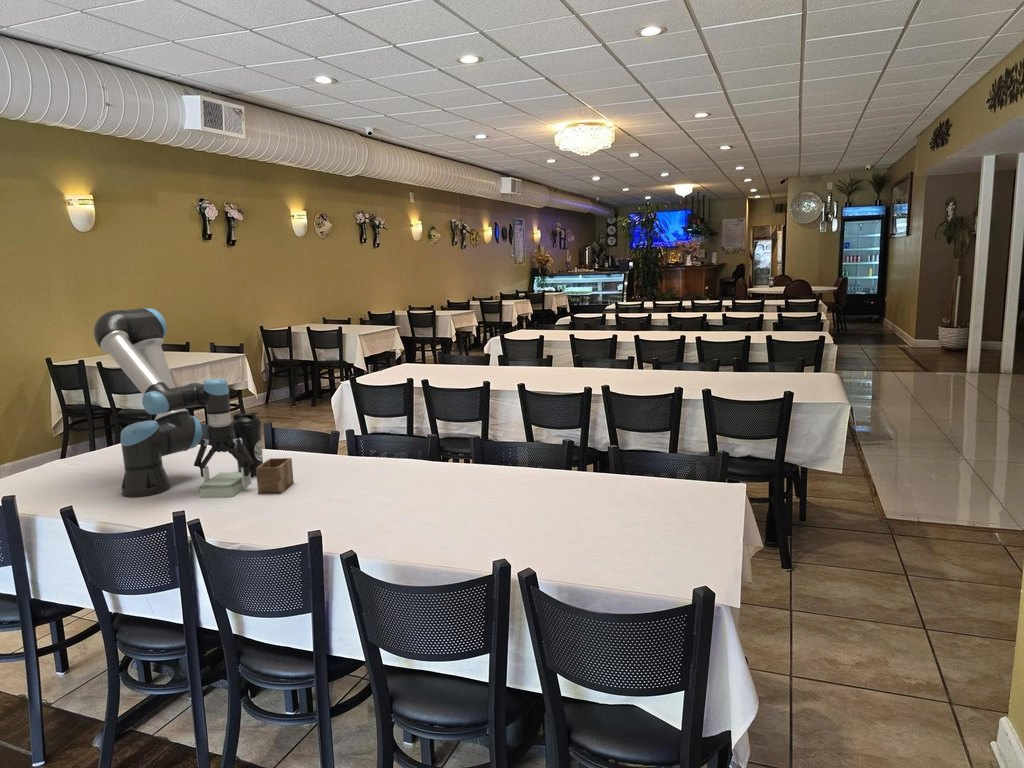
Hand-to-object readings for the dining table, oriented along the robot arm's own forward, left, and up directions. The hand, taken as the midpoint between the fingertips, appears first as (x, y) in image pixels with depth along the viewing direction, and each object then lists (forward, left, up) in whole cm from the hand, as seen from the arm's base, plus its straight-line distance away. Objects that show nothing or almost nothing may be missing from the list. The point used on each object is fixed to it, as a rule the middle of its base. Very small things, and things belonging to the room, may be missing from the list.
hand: (226, 485), depth 244 cm
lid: (0, 0, -2) cm, 2 cm away
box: (+17, +1, -2) cm, 17 cm away
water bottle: (+1, +18, -2) cm, 18 cm away
